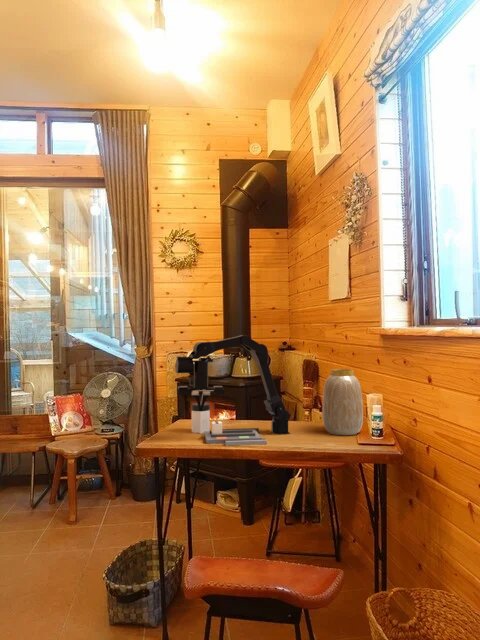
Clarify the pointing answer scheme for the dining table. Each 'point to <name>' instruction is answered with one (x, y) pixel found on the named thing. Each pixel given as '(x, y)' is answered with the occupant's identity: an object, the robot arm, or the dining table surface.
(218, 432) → the breaker lever
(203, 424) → the jar
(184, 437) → the dining table surface
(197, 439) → the dining table surface
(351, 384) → the vase
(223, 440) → the breaker panel
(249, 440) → the grey flat bar
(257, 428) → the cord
